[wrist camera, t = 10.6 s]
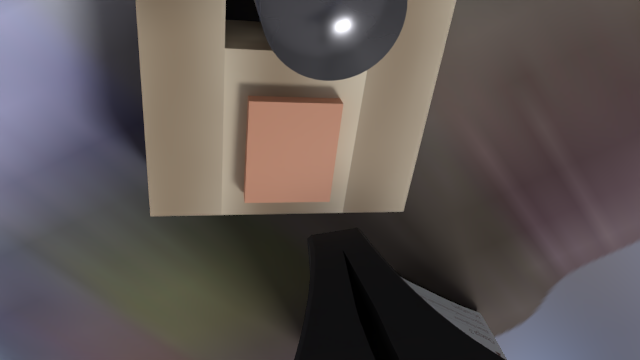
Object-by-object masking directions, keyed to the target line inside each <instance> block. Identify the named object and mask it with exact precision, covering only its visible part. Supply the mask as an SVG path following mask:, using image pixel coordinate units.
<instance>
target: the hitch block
mask: <svg viewBox="0 0 640 360" xmlns="http://www.w3.org/2000/svg"><path fill="white" fill-rule="evenodd" d="M455 3H456V0H408V1H407V12H406V18H405V21H404V25H403V28H402V30H401V32H400V35H399V37H398V39H397V40H396V42H395V44H394V45H393V47H392V48H391V49H390V51H389V52H388V53H387V54H386V55H385V56H384V57H383V58H382V59H381V60H380V61H379V62H378V63H377V64H376V65H374V66H373V67H371V68H370V69H368V70H367V71H365V72H363V73H361V74H359V75H356V76H353V77H351V78H347V79H343V80H335V81H323V80H315V79H312V78H308V77H305V76H303V75H300V74H298V73H296V72H295V71H293V70H291V69H290V68H289V67H287V66H286V65H285V64H284V63H283V62H282V61H281V60H280V59H279V58H278V57H277V56H276V55H275V53H274V52H273V51H272V49H271V47H270V45H269V44H268V42H267V39H266V37H265V34H264V31H263V28H262V25H261V22H257V21H241V20H225V16H226V0H136V15H137V29H138V44H139V58H140V73H141V87H142V102H143V116H144V131H145V145H146V160H147V174H148V188H149V203H150V216H197V215H252V214H306V213H361V212H403V211H404V207H405V203H406V199H407V195H408V191H409V187H410V183H411V179H412V175H413V171H414V167H415V163H416V159H417V155H418V151H419V147H420V143H421V139H422V135H423V131H424V127H425V123H426V119H427V115H428V111H429V107H430V103H431V99H432V95H433V91H434V87H435V83H436V79H437V75H438V71H439V67H440V63H441V59H442V55H443V51H444V47H445V43H446V39H447V35H448V31H449V27H450V23H451V19H452V15H453V11H454V7H455ZM248 96H277V97H310V98H340V99H341V101H342V102H343V111H342V118H341V125H340V132H339V139H338V146H337V153H336V160H335V167H334V174H333V181H332V188H331V196H330V202H284V203H245V202H244V171H245V149H246V128H247V107H248Z"/></svg>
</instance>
